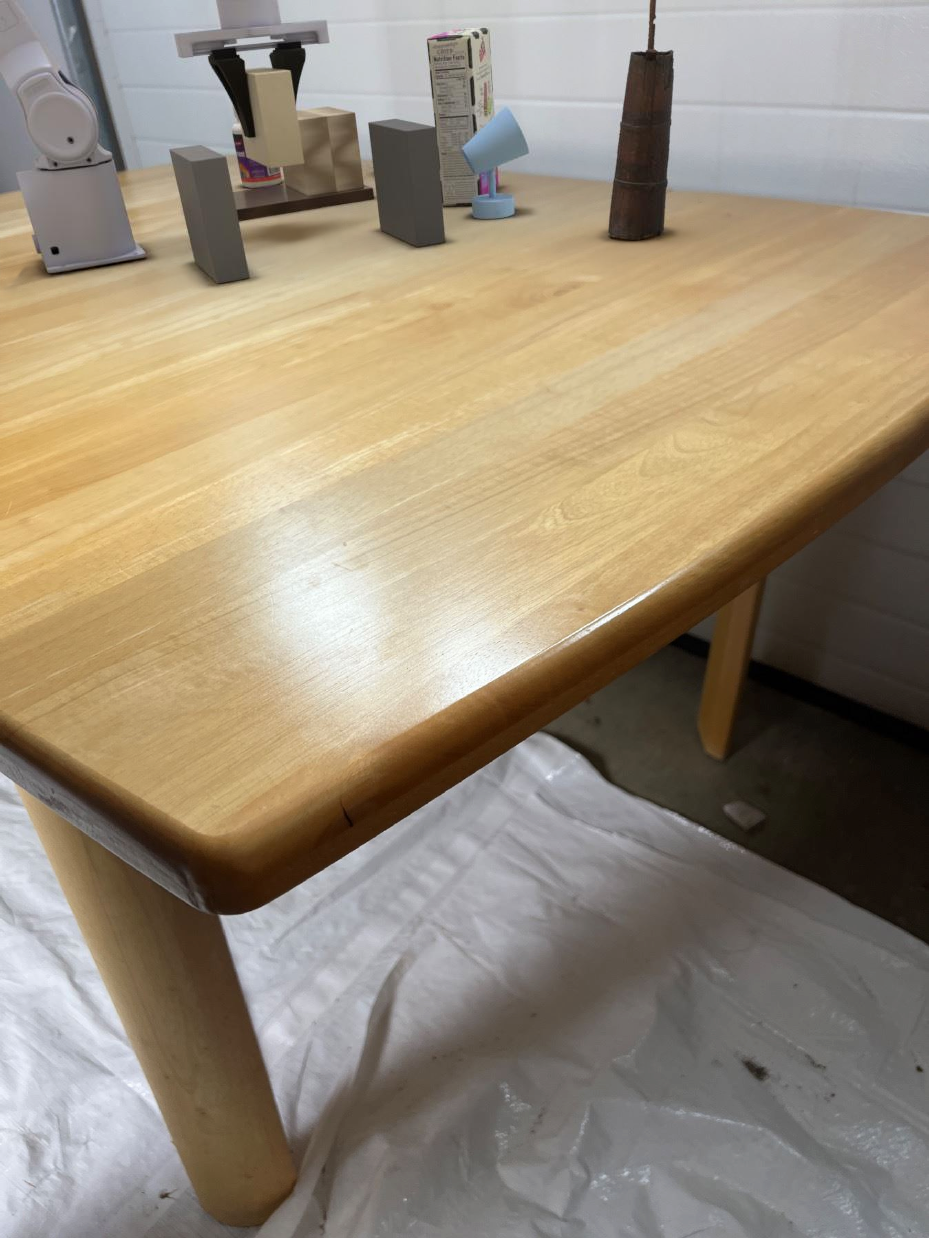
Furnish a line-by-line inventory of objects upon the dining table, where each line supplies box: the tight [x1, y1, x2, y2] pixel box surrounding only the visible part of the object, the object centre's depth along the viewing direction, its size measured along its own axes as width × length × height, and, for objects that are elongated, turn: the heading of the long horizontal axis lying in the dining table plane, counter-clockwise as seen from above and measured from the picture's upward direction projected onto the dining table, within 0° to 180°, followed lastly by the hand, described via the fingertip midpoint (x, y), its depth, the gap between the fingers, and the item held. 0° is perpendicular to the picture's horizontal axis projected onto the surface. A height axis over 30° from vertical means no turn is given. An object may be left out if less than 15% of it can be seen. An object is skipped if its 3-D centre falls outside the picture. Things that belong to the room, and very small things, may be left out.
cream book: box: [240, 66, 304, 168], centre depth 93 cm, size 4×10×8 cm, turn 25°
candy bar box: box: [426, 26, 500, 207], centre depth 103 cm, size 11×5×16 cm, turn 168°
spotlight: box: [461, 105, 530, 220], centre depth 96 cm, size 5×10×7 cm
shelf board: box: [233, 106, 375, 221], centre depth 110 cm, size 20×12×9 cm, turn 115°
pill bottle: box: [231, 105, 283, 189], centre depth 123 cm, size 5×5×10 cm
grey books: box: [169, 118, 446, 285], centre depth 87 cm, size 22×10×10 cm, turn 115°
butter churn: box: [607, 0, 675, 240], centre depth 78 cm, size 9×10×28 cm
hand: (269, 134), depth 94 cm, fingers closed on cream book, 3 cm apart
